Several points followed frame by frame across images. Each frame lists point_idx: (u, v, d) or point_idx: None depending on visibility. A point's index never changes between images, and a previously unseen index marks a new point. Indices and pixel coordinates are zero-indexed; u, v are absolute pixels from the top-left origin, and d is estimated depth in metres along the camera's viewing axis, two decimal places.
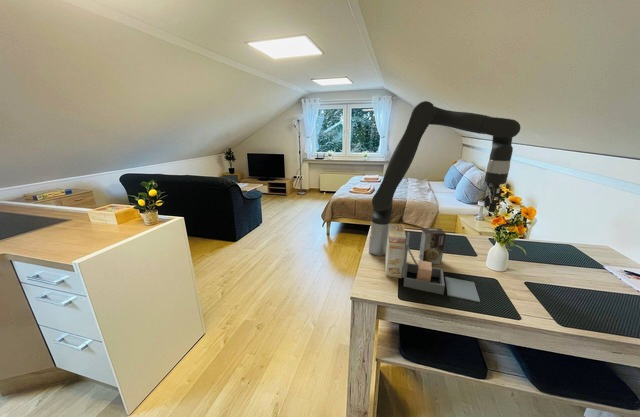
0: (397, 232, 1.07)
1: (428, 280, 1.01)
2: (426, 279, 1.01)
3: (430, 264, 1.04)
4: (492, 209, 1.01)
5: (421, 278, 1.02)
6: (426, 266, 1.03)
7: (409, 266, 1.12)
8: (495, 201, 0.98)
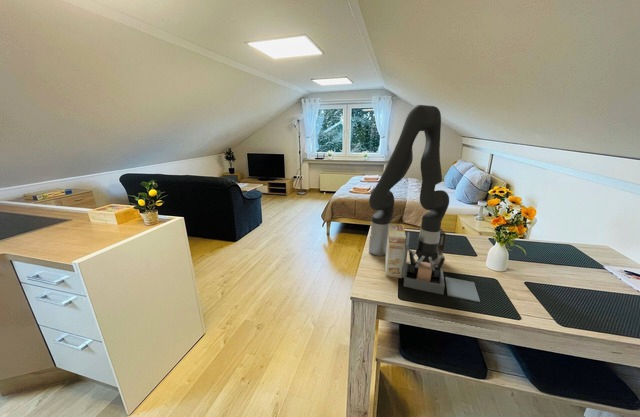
0: (397, 232, 1.07)
1: (428, 280, 1.01)
2: (426, 279, 1.01)
3: None
4: None
5: (421, 278, 1.02)
6: (426, 265, 1.03)
7: (409, 266, 1.12)
8: None
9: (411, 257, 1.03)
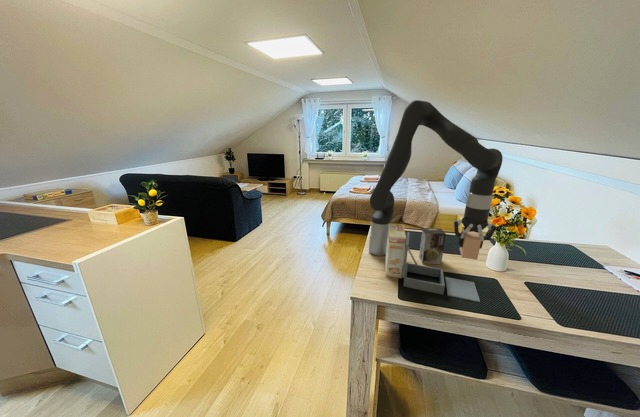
0: (397, 232, 1.07)
1: (476, 251, 0.91)
2: (474, 250, 0.91)
3: (477, 234, 0.94)
4: None
5: (468, 249, 0.92)
6: (473, 236, 0.93)
7: (409, 266, 1.12)
8: None
9: (456, 226, 0.93)
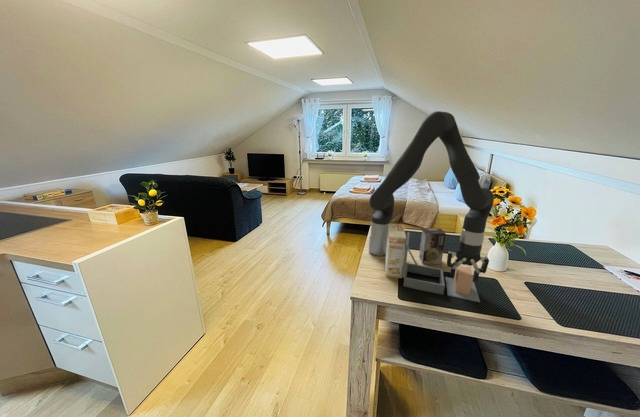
0: (397, 232, 1.07)
1: (469, 287, 0.96)
2: (466, 286, 0.96)
3: (469, 270, 0.99)
4: None
5: (461, 285, 0.97)
6: (466, 271, 0.97)
7: (409, 266, 1.12)
8: None
9: (450, 258, 0.98)
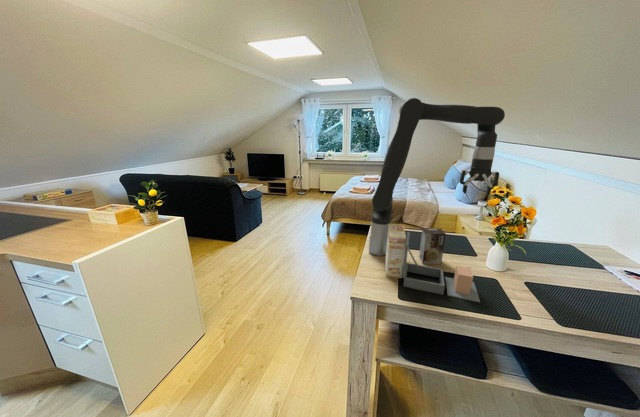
0: (397, 232, 1.07)
1: (469, 287, 0.96)
2: (466, 286, 0.96)
3: (469, 270, 0.99)
4: None
5: (461, 285, 0.97)
6: (466, 271, 0.97)
7: (409, 266, 1.12)
8: None
9: (463, 175, 1.09)
